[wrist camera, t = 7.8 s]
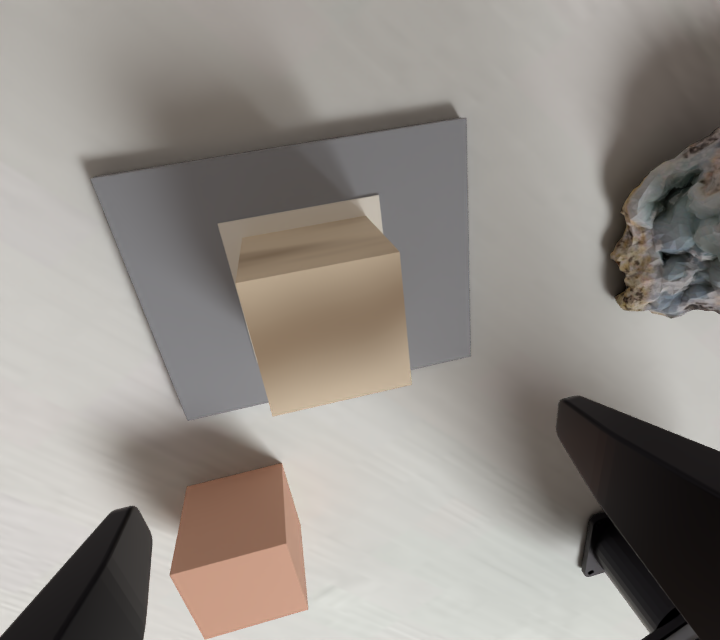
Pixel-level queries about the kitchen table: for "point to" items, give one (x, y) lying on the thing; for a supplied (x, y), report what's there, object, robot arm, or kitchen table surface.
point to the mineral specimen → (674, 235)
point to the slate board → (283, 212)
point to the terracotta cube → (240, 552)
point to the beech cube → (324, 313)
